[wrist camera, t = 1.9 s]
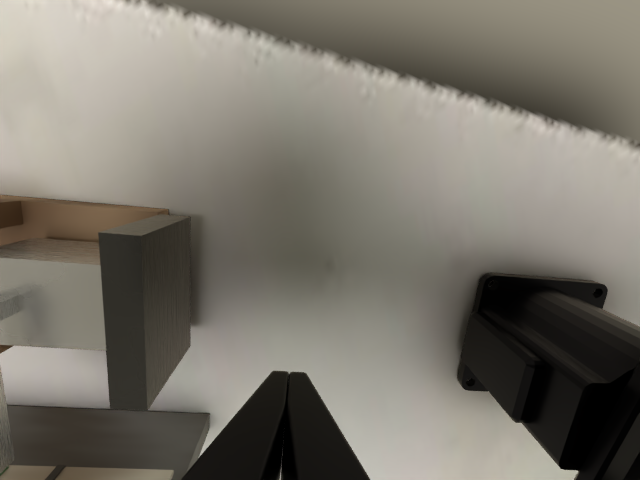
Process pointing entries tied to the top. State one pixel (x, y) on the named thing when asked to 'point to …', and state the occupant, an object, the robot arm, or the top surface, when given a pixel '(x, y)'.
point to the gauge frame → (91, 424)
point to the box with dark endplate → (102, 305)
